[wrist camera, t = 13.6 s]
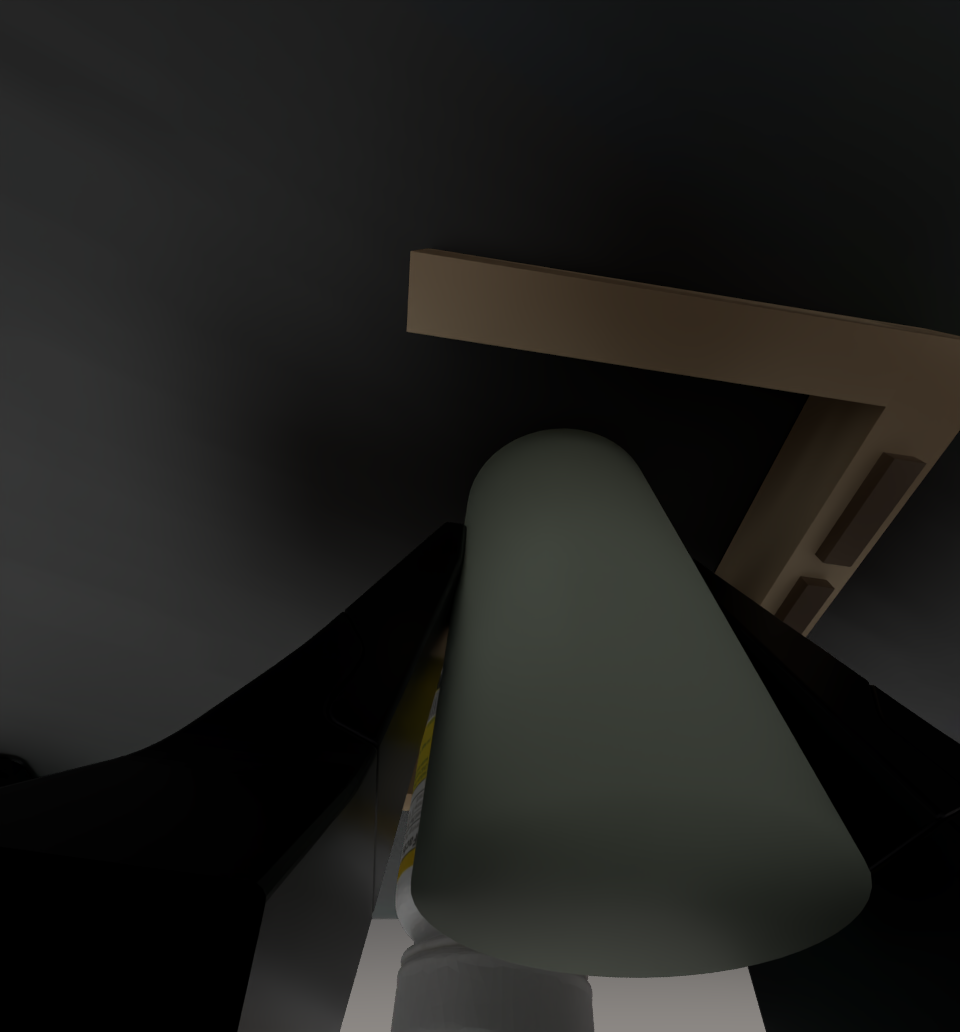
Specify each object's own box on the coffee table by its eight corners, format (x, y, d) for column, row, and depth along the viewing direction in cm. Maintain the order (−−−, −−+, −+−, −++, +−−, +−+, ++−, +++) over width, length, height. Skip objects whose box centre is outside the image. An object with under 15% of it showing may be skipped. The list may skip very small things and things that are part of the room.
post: (616, 592, 11) (741, 993, 5) (457, 570, 11) (400, 953, 5) (676, 444, 9) (994, 834, 3) (480, 414, 9) (428, 760, 3)
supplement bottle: (584, 717, 16) (645, 1094, 9) (465, 741, 17) (436, 1092, 10) (540, 626, 14) (574, 1034, 7) (407, 661, 15) (317, 1039, 8)
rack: (639, 786, 18) (655, 851, 16) (395, 754, 18) (381, 816, 16) (923, 328, 9) (1038, 353, 7) (429, 248, 9) (406, 251, 7)
